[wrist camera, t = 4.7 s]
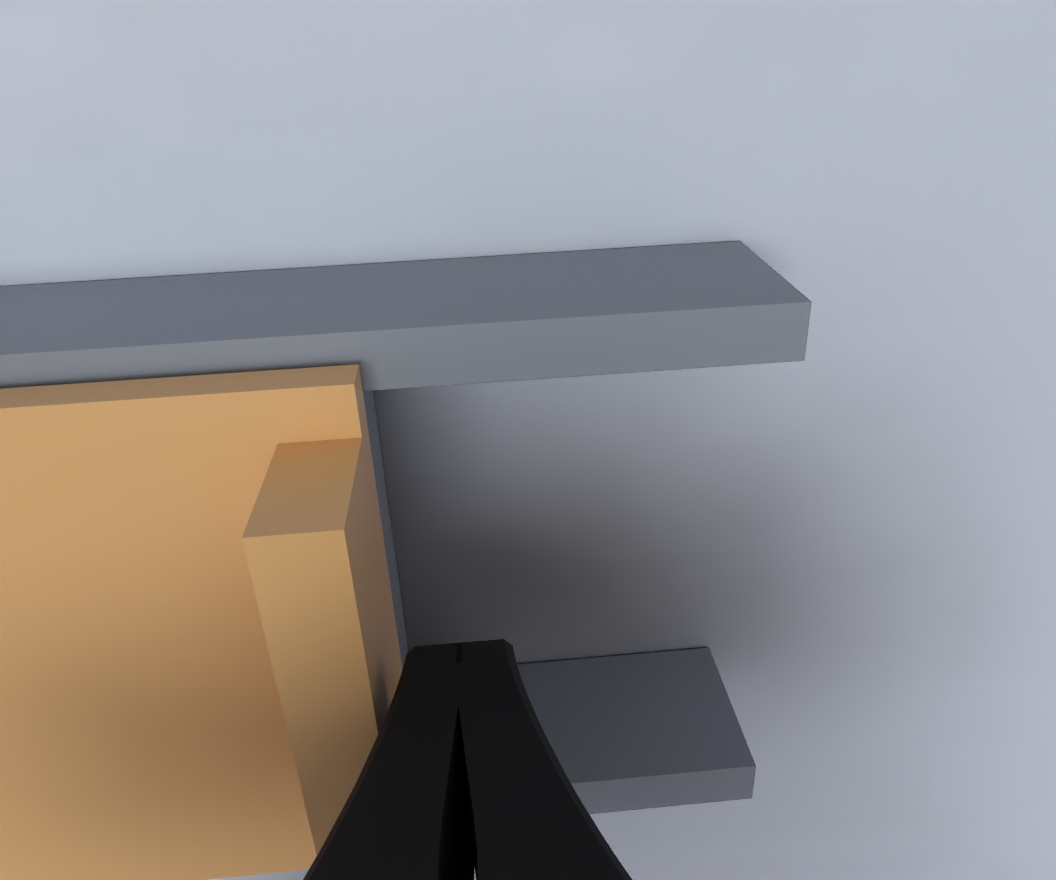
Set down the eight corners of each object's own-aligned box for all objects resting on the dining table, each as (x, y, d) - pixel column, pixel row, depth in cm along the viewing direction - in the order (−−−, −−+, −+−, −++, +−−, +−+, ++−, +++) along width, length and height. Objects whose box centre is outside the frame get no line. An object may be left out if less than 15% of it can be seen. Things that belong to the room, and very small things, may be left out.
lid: (424, 826, 14) (420, 984, 12) (-163, 883, 14) (-284, 1060, 12) (358, 364, 10) (333, 468, 8) (-463, 419, 10) (-737, 548, 8)
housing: (687, 925, 22) (720, 1056, 19) (10, 997, 21) (-55, 1144, 18) (740, 240, 13) (811, 302, 11) (-372, 309, 13) (-592, 394, 10)
